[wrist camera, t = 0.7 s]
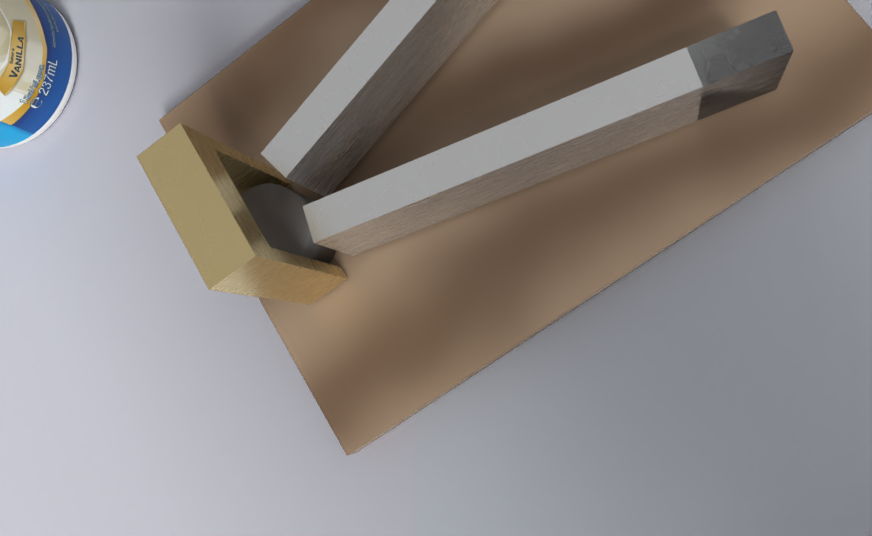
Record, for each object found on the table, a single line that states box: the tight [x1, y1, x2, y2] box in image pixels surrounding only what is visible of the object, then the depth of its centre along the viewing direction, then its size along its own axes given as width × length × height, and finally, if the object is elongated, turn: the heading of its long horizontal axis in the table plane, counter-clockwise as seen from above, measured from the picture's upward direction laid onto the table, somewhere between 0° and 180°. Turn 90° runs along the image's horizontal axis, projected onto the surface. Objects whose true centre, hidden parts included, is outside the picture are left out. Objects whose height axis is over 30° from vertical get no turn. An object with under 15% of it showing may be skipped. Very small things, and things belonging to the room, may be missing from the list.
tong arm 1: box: [303, 10, 794, 256], centre depth 30 cm, size 18×2×4 cm, turn 110°
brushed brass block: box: [137, 123, 348, 305], centre depth 30 cm, size 6×2×8 cm, turn 34°
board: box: [159, 0, 872, 455], centre depth 32 cm, size 18×26×4 cm
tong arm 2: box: [261, 0, 497, 197], centre depth 31 cm, size 18×2×4 cm, turn 138°
